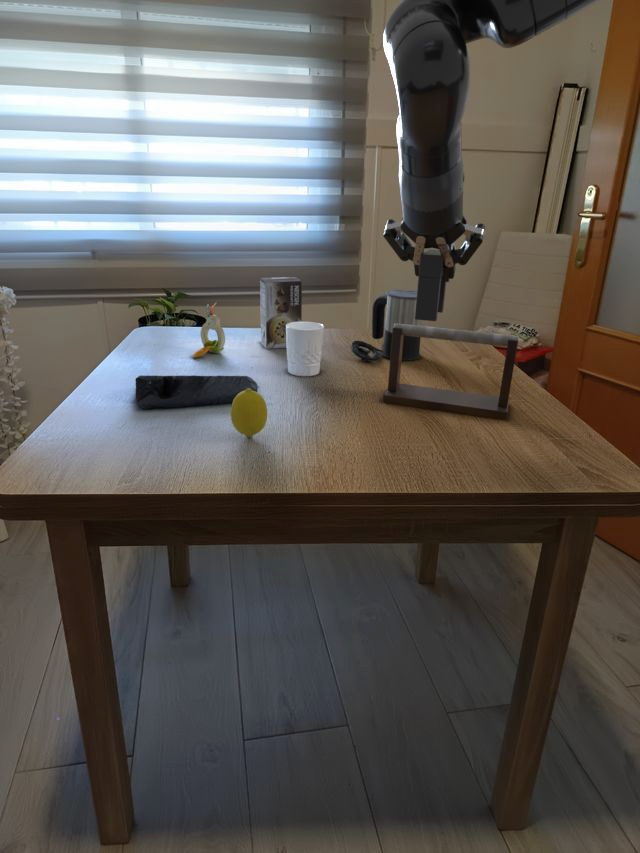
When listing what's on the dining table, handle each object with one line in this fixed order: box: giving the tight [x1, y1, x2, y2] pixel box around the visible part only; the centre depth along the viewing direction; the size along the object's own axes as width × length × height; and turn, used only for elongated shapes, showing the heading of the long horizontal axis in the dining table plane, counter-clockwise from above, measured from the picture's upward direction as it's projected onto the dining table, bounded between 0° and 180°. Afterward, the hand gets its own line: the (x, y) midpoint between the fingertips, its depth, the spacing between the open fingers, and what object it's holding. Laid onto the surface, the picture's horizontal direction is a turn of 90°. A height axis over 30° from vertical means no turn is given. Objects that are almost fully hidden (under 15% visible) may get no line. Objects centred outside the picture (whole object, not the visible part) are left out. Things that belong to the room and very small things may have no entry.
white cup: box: [286, 320, 325, 377], centre depth 120 cm, size 8×8×10 cm
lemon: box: [230, 388, 268, 439], centre depth 88 cm, size 6×6×8 cm
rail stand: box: [382, 323, 520, 421], centre depth 104 cm, size 22×8×14 cm, turn 71°
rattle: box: [192, 301, 226, 359], centre depth 131 cm, size 8×8×12 cm
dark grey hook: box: [415, 248, 447, 322], centre depth 83 cm, size 3×8×9 cm, turn 161°
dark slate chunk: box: [135, 374, 259, 410], centre depth 105 cm, size 15×22×5 cm
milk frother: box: [350, 289, 424, 362], centre depth 132 cm, size 14×16×15 cm
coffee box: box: [259, 276, 303, 350], centre depth 139 cm, size 9×6×16 cm
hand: (435, 275), depth 85 cm, fingers closed on dark grey hook, 3 cm apart
